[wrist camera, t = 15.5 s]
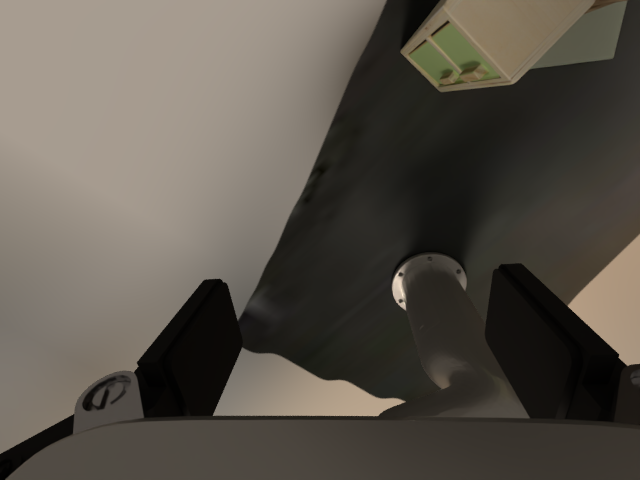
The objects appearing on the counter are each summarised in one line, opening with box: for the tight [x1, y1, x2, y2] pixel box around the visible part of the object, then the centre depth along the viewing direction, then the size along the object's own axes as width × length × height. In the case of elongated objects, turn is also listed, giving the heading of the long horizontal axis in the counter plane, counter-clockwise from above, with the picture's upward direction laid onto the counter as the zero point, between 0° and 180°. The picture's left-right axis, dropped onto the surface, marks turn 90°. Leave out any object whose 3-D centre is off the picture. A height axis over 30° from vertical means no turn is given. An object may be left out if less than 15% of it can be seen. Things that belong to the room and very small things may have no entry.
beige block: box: [400, 0, 596, 92], centre depth 30 cm, size 8×7×21 cm
